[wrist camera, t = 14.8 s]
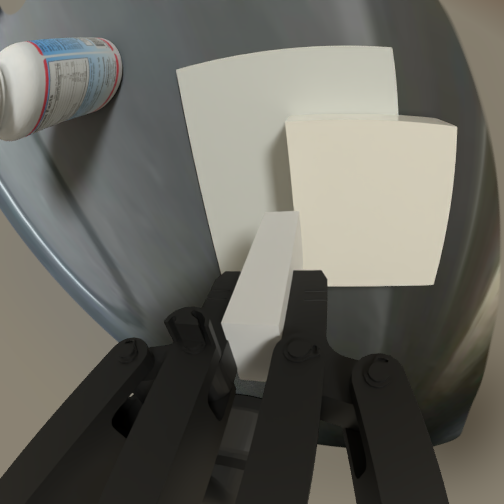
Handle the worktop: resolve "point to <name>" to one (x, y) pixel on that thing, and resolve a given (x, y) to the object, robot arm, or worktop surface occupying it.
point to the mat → (269, 126)
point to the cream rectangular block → (372, 195)
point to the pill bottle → (54, 82)
